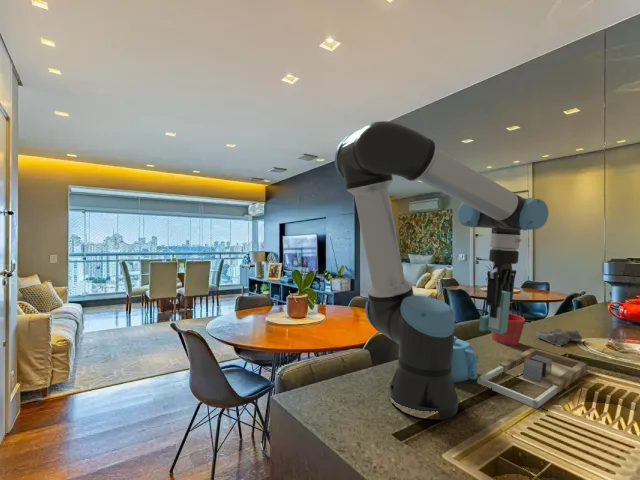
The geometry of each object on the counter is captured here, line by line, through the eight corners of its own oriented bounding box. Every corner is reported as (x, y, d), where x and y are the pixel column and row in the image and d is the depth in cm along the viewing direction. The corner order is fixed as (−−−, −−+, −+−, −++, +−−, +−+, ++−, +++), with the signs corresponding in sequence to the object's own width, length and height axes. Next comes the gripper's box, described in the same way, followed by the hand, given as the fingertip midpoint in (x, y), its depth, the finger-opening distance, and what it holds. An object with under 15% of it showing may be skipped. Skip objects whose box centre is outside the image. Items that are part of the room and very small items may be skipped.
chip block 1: (540, 382, 87) (542, 367, 87) (522, 377, 90) (524, 363, 90) (542, 377, 91) (543, 362, 90) (524, 372, 93) (525, 358, 93)
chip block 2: (545, 377, 91) (546, 363, 90) (529, 371, 94) (530, 357, 93) (551, 373, 93) (552, 359, 93) (534, 368, 96) (536, 354, 96)
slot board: (558, 396, 83) (559, 384, 82) (499, 374, 94) (499, 363, 94) (586, 373, 96) (587, 363, 96) (532, 356, 107) (532, 347, 107)
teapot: (436, 323, 104) (493, 341, 88) (434, 357, 104) (490, 381, 89) (407, 329, 97) (463, 350, 82) (405, 365, 98) (460, 393, 82)
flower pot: (502, 336, 125) (504, 310, 125) (530, 347, 115) (532, 319, 115) (480, 339, 122) (482, 312, 121) (507, 350, 112) (509, 321, 111)
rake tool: (478, 330, 101) (482, 290, 100) (493, 325, 107) (496, 288, 106) (496, 335, 97) (500, 293, 96) (510, 330, 103) (514, 291, 102)
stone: (558, 348, 116) (559, 336, 116) (532, 338, 125) (533, 327, 125) (587, 344, 121) (588, 333, 121) (560, 335, 130) (561, 324, 130)
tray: (536, 412, 75) (537, 401, 75) (476, 387, 86) (477, 377, 86) (557, 396, 83) (557, 386, 83) (499, 374, 94) (500, 365, 93)
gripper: (504, 250, 92) (496, 335, 93) (530, 250, 102) (523, 326, 104) (477, 248, 98) (470, 327, 99) (504, 247, 108) (497, 319, 109)
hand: (497, 326), depth 101 cm, fingers closed on rake tool, 4 cm apart
